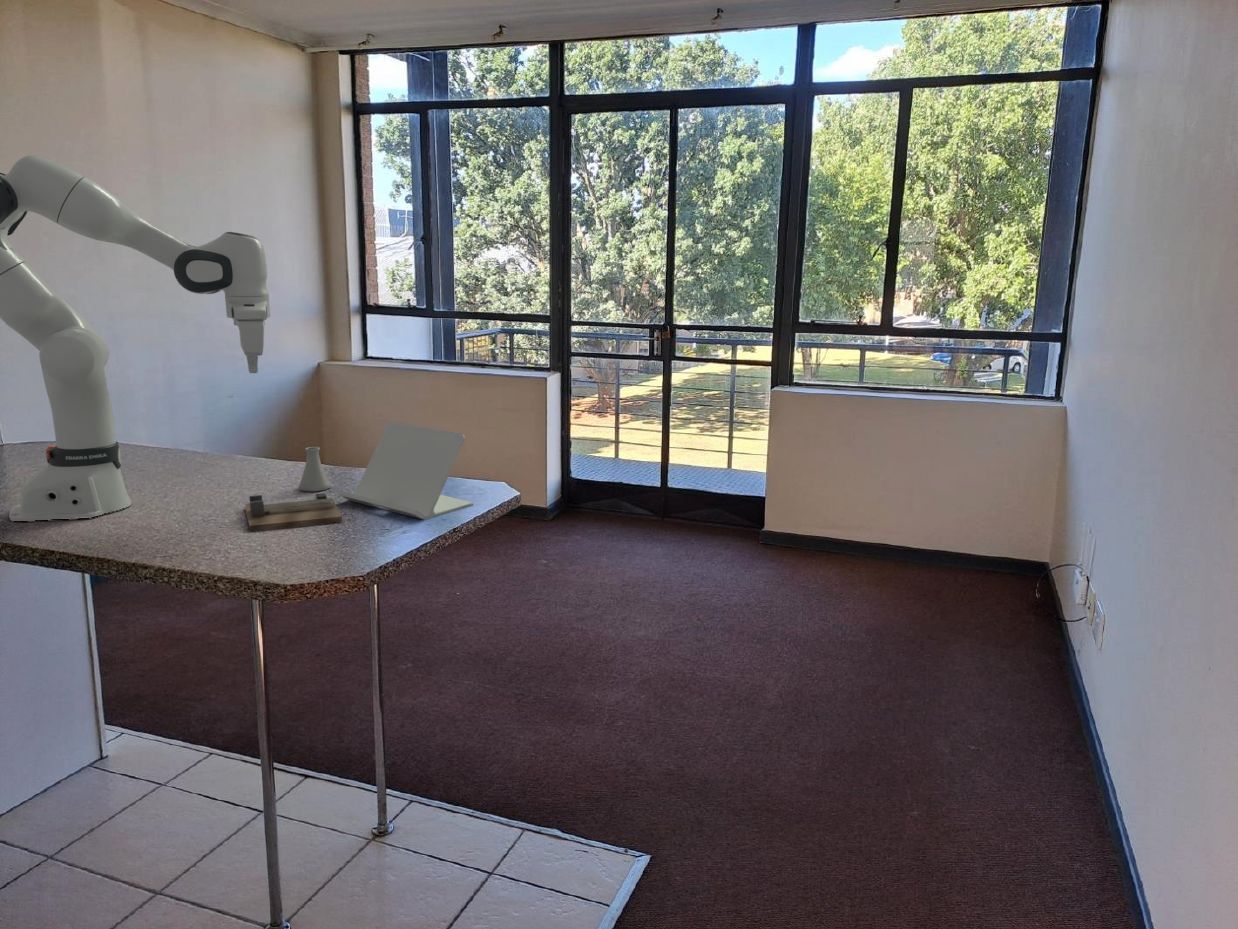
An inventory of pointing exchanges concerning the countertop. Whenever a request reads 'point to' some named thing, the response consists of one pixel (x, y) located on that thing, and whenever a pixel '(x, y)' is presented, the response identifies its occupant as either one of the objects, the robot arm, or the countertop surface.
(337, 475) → the countertop surface
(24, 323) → the robot arm
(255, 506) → the lower tong arm
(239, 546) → the countertop surface
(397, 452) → the tablet stand
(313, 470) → the flask
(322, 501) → the upper tong arm
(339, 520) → the walnut board
